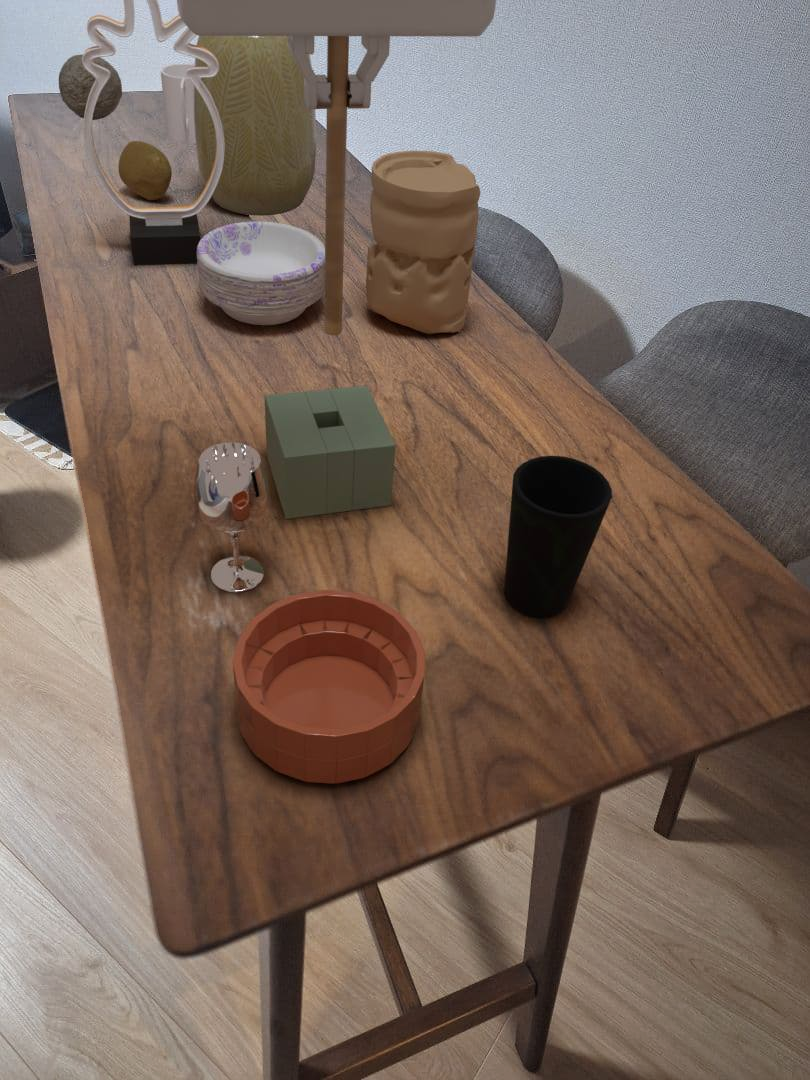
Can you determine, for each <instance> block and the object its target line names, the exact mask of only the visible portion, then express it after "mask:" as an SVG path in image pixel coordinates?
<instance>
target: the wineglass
mask: <svg viewBox="0 0 810 1080" xmlns="http://www.w3.org/2000/svg"><path fill="white" fill-rule="evenodd" d="M196 467H197V468H196V472H195V478H194V479H195V480H194V487H193V489H194V490H193V491H194V492H193V493H194V502H195V506H196V510H197V513H198V515H199V516H200V518H201V519H202V521H203V522H204V523H205V524H206V525H207V526H209V527H210V528H211V529H213V530H215V531H218V532H221V533H226V534H228V537H229V540H230V542H231V545H232V553H233V555H230V556H226V557H224V558H222V559H220V560H218V561H217V562H216V563H215V564H214V565H213V567H212V568H211V571H210V579H211V582H212V583H213V584H214V586H215V587H217V588H218V589H220V590H222V591H225V592H228V593H243V592H247V591H251V590H252V589H254V588H256V587H257V586H258V585H260V583H261V582H262V581H263V579H264V576H265V569H264V567H263V565H262V564H261V562H260V561H258V560H257V559H255V558H254V557H251V556H249V555H240V549H239V547H240V541H241V537H242V533H244V532H246V531H250V530H251V529H253V528H255V527H256V526H257V525H258V524H259V523H260V522H261V521H262V520H263V519H264V517H265V516H266V514H267V511H268V508H269V501H270V486H269V480H268V476H267V472H266V469H265V467H264V464H263V461H262V458H261V455H260V453H259V452H258V451H257V450H256V449H255V448H253V447H252V446H250V445H248V444H245V443H241V442H230V441H229V442H221V443H217V444H214V445H212V446H209V447H208V448H205V450H204V451H202V452H201V454H200V456H199V458H198V463H197V466H196Z"/></svg>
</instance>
